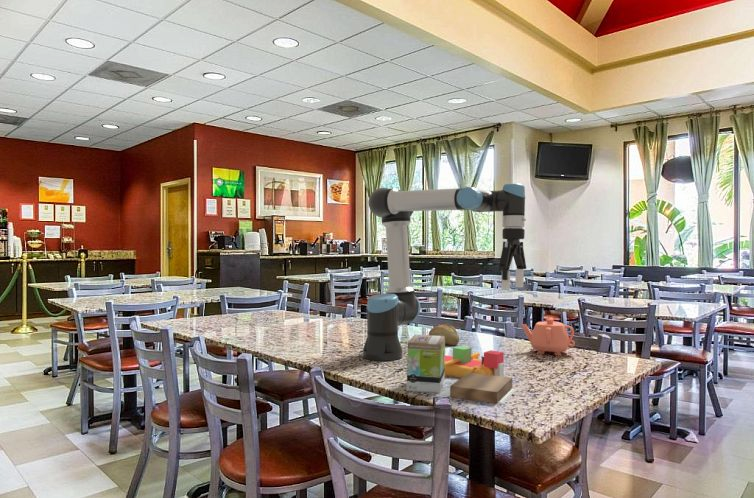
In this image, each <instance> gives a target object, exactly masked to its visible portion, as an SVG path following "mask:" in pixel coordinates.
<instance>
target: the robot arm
mask: <svg viewBox="0 0 754 498" xmlns="http://www.w3.org/2000/svg"><path fill="white" fill-rule="evenodd" d="M368 208H369V210H370V212H371V213H372V214H373V215H375V216H376V217H379V218H381V224H382V226H384V228H385V236H386V251H387V252H386V254H387V270H388V288H387V290H386V291H385V293H376V294H373V295H371V296H369V297H368V298H367V303H366V311H367V314H366V316H367V318H366V319H367V320H366V321H367V322H366V324H367V325H366V329H367V330H366V331H367V333H366V334H367V335H366V339H365V343H364V346H363V348H362V358H364V359H366V360H371V361H382V362H383V361H385V362H386V361H395V360H400V359H402V358H403V347H402V345H401V342H400V340H399V326H402V325H408V324H410V323H413V322H414V321H416V320H417V319H418V318H419V316H420V313H421V303H420V299H419V298H418V297H417V296H416V292H415V291H416V290H415V289H414V288H413V287H412V286H411V274H410V273H411V272H410V270H411V269H410V253H409V235H408V226H409V225H410V224H411V217H412V215H413V213H414V212H427V211H428V212H429V211H434V212H435V211H436V212H437V211H472V212H473V213H485V212H486V213H487V212H488V213H489V212H492V213H493V212H494V213H495V212H502V224H501V225H502V228H503V229H502V232H501V233H502V239H503V240H506V241H502V250H501V254H500V259H499V260H500V261H499V265H498V270H499V271H501V287H500V288H501V290H505V291H506V290H507V291H510V290H511V270H510V267H511V264H512V261H513V259H514V264H515V266H516V268H515V286H514V287H515V288H524V274H525V272H524V271H525V270H527V263H526V257H525V250H524V242H523V241H520V240H525V229H524V228H525V222H526V221H527V219H526V218H525V215H526V214H525V211H526V190H525V185H524V184H521V183H506V184H504V185H503V186H502V189H501V190H485V189H481V188H476V187H475V186H464V187H462V188H439V189H438V188H437V189H420V190H419V189H417V190H413V189H412V190H402V189H397V188H388V187H379V188H376V189H374V191H373V192H372V193H370V195H369V198H368Z"/></svg>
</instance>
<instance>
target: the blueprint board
mask: <svg viewBox="0 0 754 498" xmlns="http://www.w3.org/2000/svg"><path fill="white" fill-rule="evenodd" d="M517 390H518V389H517V388H513V387H512V388H511V390H510V391H509V392H508V393H507V394H506V395H505V396H504V397H503V398H502V399H501V400H500V401H499V402H498V403H497V404H501V405H504V404H505V403H506V402H507V400H509V399H510V398H511V396H512V395H513V394H514V393H515V392H516V391H517ZM438 395H439V396H446V397H450V386H449V387H448V388H446V389H445V390H444V391H441V392H440V393H438Z"/></svg>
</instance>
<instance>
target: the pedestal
mask: <svg viewBox="0 0 754 498" xmlns="http://www.w3.org/2000/svg"><path fill="white" fill-rule="evenodd" d="M449 387H450V396H449V397H450V398H457V399H463V400H471V401H479V402H483V403H491V404H499V403H498V402H499V401H500V400H501V399H502V398H503V397H504V396H505V395H506V394H507V393H508V392H509V391H510V390H511V388H513V377H511V376H510V377H509V376H504V377H502V376H493V375H485V374H476V373H468V374H467V375H465V376H464V377H462V378H459V379H458V380H457V381H455V382H453V384H451V385H449Z"/></svg>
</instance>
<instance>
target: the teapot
mask: <svg viewBox="0 0 754 498" xmlns="http://www.w3.org/2000/svg"><path fill="white" fill-rule="evenodd" d="M521 327H522V329H523V331H524V333H525V335H526V337H527V339H528V341H529V343H530V345H531V347H532V349H533V350H534V351H535V350H536V351H537V352H536V355H544V354H545V352H552V353H553V354H554V356H557V357H560V356H562V353H564V352H566V351H567V350H568V349H569V347H571V348H572V347H575V343H576V342H575V341H574V340H572V339H573V337H574V334H575V328H574V327H572V326H570V325H568V324H567V325H566V324H564V322H563V323H562V322H555V319H554V317H552V316H551V317H549V318H545V321H538V322H536V323H535V325H534V327H533V330H532V331H531V330H530V328H529V326H528V325H527V324H526V323H523V324H521ZM567 329H570V330H571V333H570V336H569V333H568V331H567ZM560 352H562V353H560Z"/></svg>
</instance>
